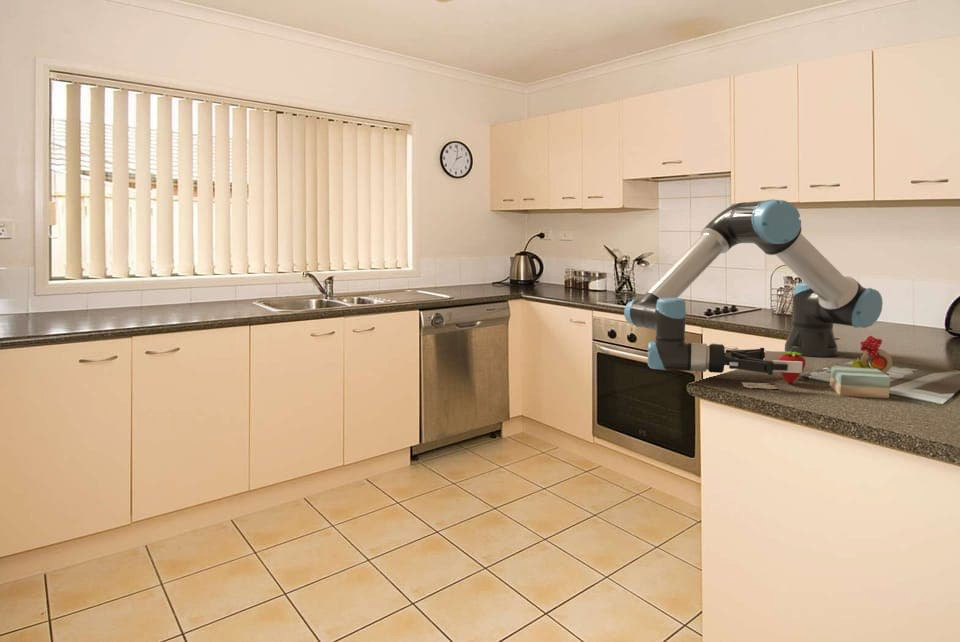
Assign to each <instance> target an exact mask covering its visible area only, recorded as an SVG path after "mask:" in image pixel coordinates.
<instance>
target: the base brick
mask: <svg viewBox="0 0 960 642" xmlns="http://www.w3.org/2000/svg"><path fill="white" fill-rule="evenodd" d="M829 375H830V377H829V387H830V386H831V387H830V388H831V389H832V390H833V391H835V392H836V394H838V395H839V396H841V397H842V396H843V397H857V398H858V397H859V398H872V399H873V398H876V399H889V397H890V386H891V376H889V375H887V373H885V374H884V373H883V372H881V371H880V370H878V369H875V368H872V367H870V368H854V367H852V366H851V367H848V366H830V374H829Z"/></svg>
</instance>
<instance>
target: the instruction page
mask: <svg viewBox="0 0 960 642" xmlns="http://www.w3.org/2000/svg"><path fill="white" fill-rule="evenodd" d="M741 383H742V384H743V385H748V386H752V387H758V385H760V386H761V387H763V386H764V385H762V384H764V383H760V382H746V381H745V382H740V384H741ZM742 384H741V385H742ZM765 386H767V385H765Z"/></svg>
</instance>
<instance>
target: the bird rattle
mask: <svg viewBox="0 0 960 642" xmlns="http://www.w3.org/2000/svg"><path fill="white" fill-rule="evenodd" d="M882 343H883V340H882V339H881V338H875V337H874V336H872V335H869V336H868V337H867V338H866V339H865V340H863V341H861V342H860V351H862V352H864V353H863V354H862V356H860V358H859V357H857V358H856V360H854V361H852V362H851V367H854V368H875V369H878V370H880V371H881V372H883V373H884V374H887V373H888V372H889V371H890V370H891V368H892V366H893V359H892V356H891V355H890V353H888V352H887V351H886V350H884V349H880V348H881V347H880V346H881V345H882ZM868 360H870V362H869V361H868Z"/></svg>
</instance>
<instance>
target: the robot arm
mask: <svg viewBox="0 0 960 642" xmlns="http://www.w3.org/2000/svg"><path fill="white" fill-rule="evenodd" d="M800 217H801V214H800V212H799V210H798V209H797V207H796V206H795V205H794V204H792V203H791V202H790V201H787V200H784V199H783V200H782V199H774V198H773V199H767V200H757V201H748V202H746V201H745V202H738V203H735V204H733V205H731V206H728V208H725V209H724V210H723V211H721V212H720V213H719V214H717V215H716V216H715V217H714V218H713V219H712V220H711V221H709V222H708V224H707V225H706V226H705V227H704V228H703V229H702V230H701V232H700V237H698V239H697V240H696V241H695V242H694V243H693V244H692V245H691V246H690V247H689V248H688V250H686V251H685V252H684V253H683V255H681V256H680V258H678V260H677V261H676V262H674V264H673V265H672V266H671V267H670V268H668V270H667V271H666V272H665V273H664V274H663V275H662V276H661V277H660V278H659V279H658V280H657V281H656V283H654V284H653V285H652V286H651V288H650V289H648V291H646V292H645V293H644V295H643V296H642V297H641V298H639V299H633V300H630V301H629V302H627V304H626V305H625V307H624V312H623V315H624V319H625V320H626V322H627V323H628V324H629V325H632V326H635V327H637V328H643V329H648V330H651V331H652V330H653V331H655V340H653V341H649V342H648V343H647V365H648V366H647V367H649V368H650V369H651V370H652V369H653V370H661V371H679V372H693V373H694V374H698V373H699V372H702V373H705V372H707V371H708V372H709V373H714V374H715V373H719V374H722V373H723V372H724V370H725V366H729V367H728V369H730V370H743V371H750V372H757V373H764V374H768V376H773V373H781V372H790V373H801V374H802V373H803V371H802V362H798V361H779V358H780V357H781V356H784V355H781V354H785V353H783V352H797V353H802V354H800V355H802V356H806V357H823V358H824V357H835V356H837V355H838V349H839V348H838V344H837V341H836V338H835V334H834V333H835V332H834V325H840V326H847V327H853V328H855V329H856V328H865V329H866V328H868V327H871V326H872V325H874V324H875V323H876V322H877V321H878V319H880V318H879V317H880V316H881V313H882V311H883V303H884V301H883V296H882V295H881V293H880V291H879V290H877V289H874V288H871V287H869V288H866V287H864V286H862V285H861V284H860V283H859V282H858V280H856V279H855V278H854V277H852V276H844V275H843V274H842V273H841V272H840V271H839V270H838V269H837V267H835V266H834V265H833V264H832V263H831V262H830V260H828V259H827V258H826V257H825V256H824V255H823V254H822V253H821V252H820V251H819V250H818V249H817V248H816V247H815V246H814V244H812V243H811V242H810V241H809V240H808V239H807V238H806V237H805V236H804V235H803V234H802V232H803V230H802V229H803V228H802V220H801V219H800ZM739 244H755V245H756V246H757V247H758V248H759V249H760V250H761V251H762V252H763V253H764V254H766V255H769V256H776V257H777V258H778V259H779V260H780V261H781V262H783V264H784V265H785V266H786V267H787V268H788V269H790V270H791V271H792V273H794V274H795V275H796V276H797V277H798V278H799V279H800V280H801V281H802V282H799V283H797V284H796V285H795V286H794V289H793V295H792V298H793V299H792V320H791V323H792V324H791V329H790V331H789V334H788V336H787V339H786V341H785V343H784V351H780V350H778V351H777V350H765V347H760V348H755V349H754V348H753V349H750V348H749V349H726V350H725V345H724V344H719V343H710V344H709V345H708V344H707V343H704V342H703V343H701V342H698V343H697V342H692V343H691V342H688V343H687V342H685V339H686V338H685V335H686V321H687V320H686V317H687V310H686V308H687V307H686V300H684V299H683V298H679V297H680V296H681V295H682V294H683V293H684V292H685V291H687V289H688V288H689V287H690V286H691V285H692V284H693V283H694V282H695V281H696V280H697V279H698V277H700V276H701V274H703V272H704V271H705V270H706V269H707V268H708V267H709V266H710V265H711V264H712V263H713V262H714V261H715V260H716V259H717V258H718V257H719V256H720V255H721V254H726V253H727V252H728V251H729V250H730V249H731V248H733V247H734V246H736V245H739ZM794 346H795V347H794ZM793 347H794V348H793ZM792 348H793V349H792ZM790 350H791V351H790Z"/></svg>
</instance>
